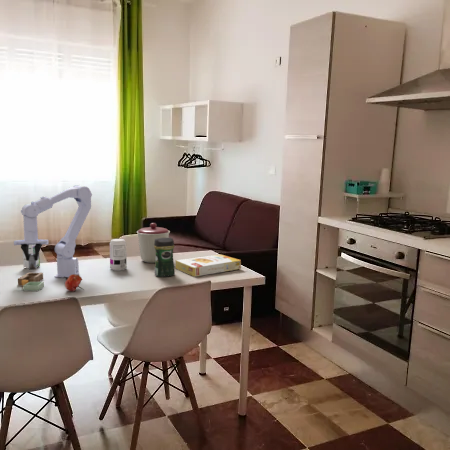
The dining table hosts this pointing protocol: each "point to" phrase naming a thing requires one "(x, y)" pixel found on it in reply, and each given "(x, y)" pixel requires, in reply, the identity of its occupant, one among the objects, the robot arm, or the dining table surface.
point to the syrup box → (31, 250)
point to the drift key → (24, 282)
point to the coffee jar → (164, 257)
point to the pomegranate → (72, 282)
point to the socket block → (31, 277)
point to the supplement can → (118, 254)
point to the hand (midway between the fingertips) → (32, 260)
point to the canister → (150, 241)
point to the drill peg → (31, 261)
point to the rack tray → (33, 286)
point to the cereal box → (208, 265)
